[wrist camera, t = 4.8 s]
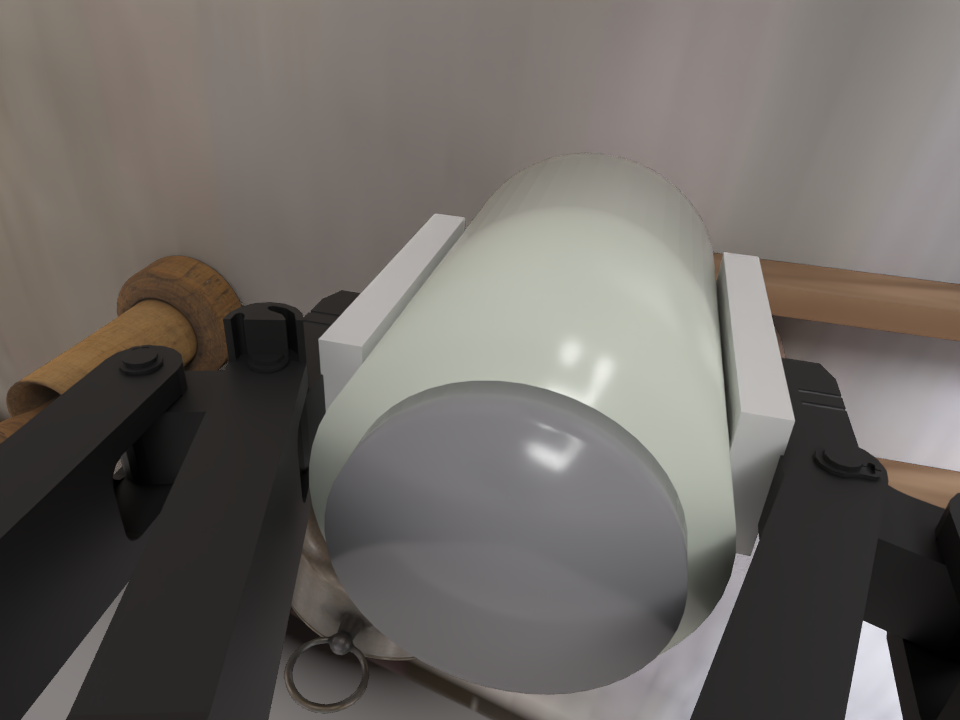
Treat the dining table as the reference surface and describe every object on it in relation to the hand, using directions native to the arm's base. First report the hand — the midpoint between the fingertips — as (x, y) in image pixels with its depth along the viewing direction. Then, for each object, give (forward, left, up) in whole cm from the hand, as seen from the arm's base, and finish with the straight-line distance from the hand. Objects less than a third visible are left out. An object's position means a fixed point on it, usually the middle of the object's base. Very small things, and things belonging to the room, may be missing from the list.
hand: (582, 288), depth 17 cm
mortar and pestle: (+12, -22, -16) cm, 30 cm away
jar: (0, 0, 0) cm, 0 cm away
